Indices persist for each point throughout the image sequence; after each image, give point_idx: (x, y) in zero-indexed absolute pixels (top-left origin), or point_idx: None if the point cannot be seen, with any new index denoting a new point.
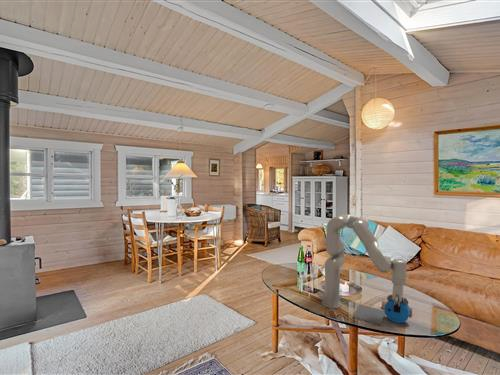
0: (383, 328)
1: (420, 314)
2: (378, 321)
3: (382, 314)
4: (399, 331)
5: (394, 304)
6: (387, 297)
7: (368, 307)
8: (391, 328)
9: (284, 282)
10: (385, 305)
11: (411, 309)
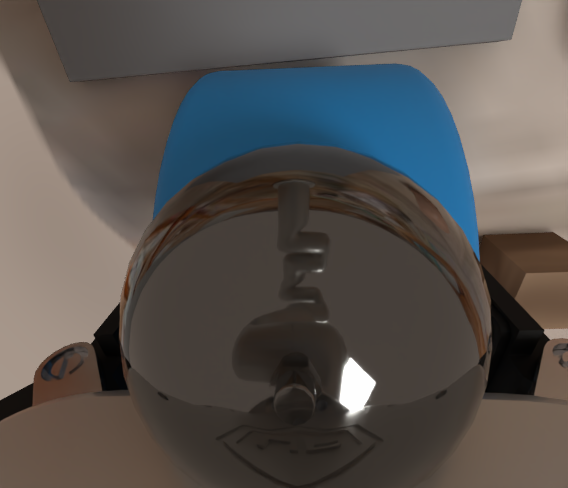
0: (52, 122)
1: (553, 329)
2: (107, 32)
3: (353, 22)
4: (132, 244)
5: (44, 370)
6: (201, 202)
7: None
8: (123, 186)
9: None
10: (184, 103)
11: (540, 325)
